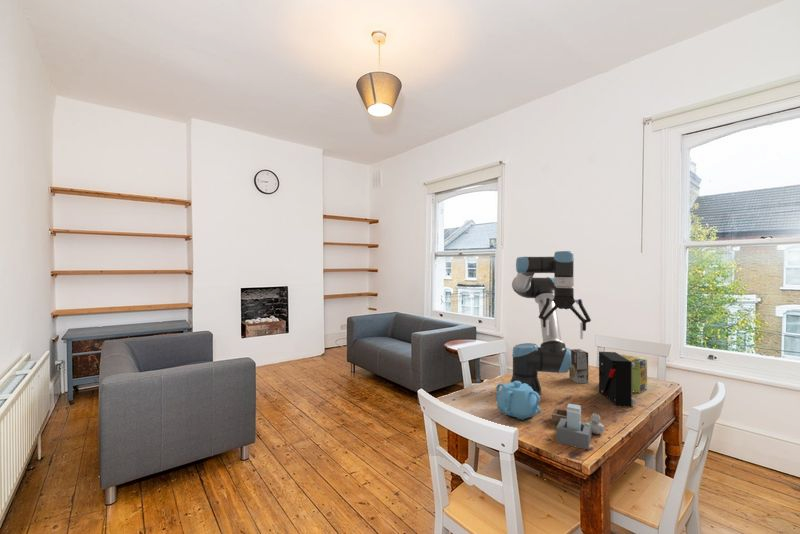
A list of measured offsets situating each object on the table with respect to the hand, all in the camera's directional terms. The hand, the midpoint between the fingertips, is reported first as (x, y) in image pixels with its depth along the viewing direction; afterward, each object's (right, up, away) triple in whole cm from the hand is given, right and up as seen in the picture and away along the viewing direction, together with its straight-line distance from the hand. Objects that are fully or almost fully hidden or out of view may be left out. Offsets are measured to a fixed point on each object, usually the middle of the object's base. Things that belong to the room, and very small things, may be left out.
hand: (564, 336), depth 151 cm
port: (-8, -32, -26) cm, 42 cm away
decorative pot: (-21, -32, -3) cm, 38 cm away
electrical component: (+30, -32, +13) cm, 46 cm away
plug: (-8, -32, -26) cm, 42 cm away
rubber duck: (+3, -32, -20) cm, 38 cm away
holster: (-5, -32, -12) cm, 34 cm away
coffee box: (+27, -32, +41) cm, 58 cm away
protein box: (+46, -32, +30) cm, 63 cm away
